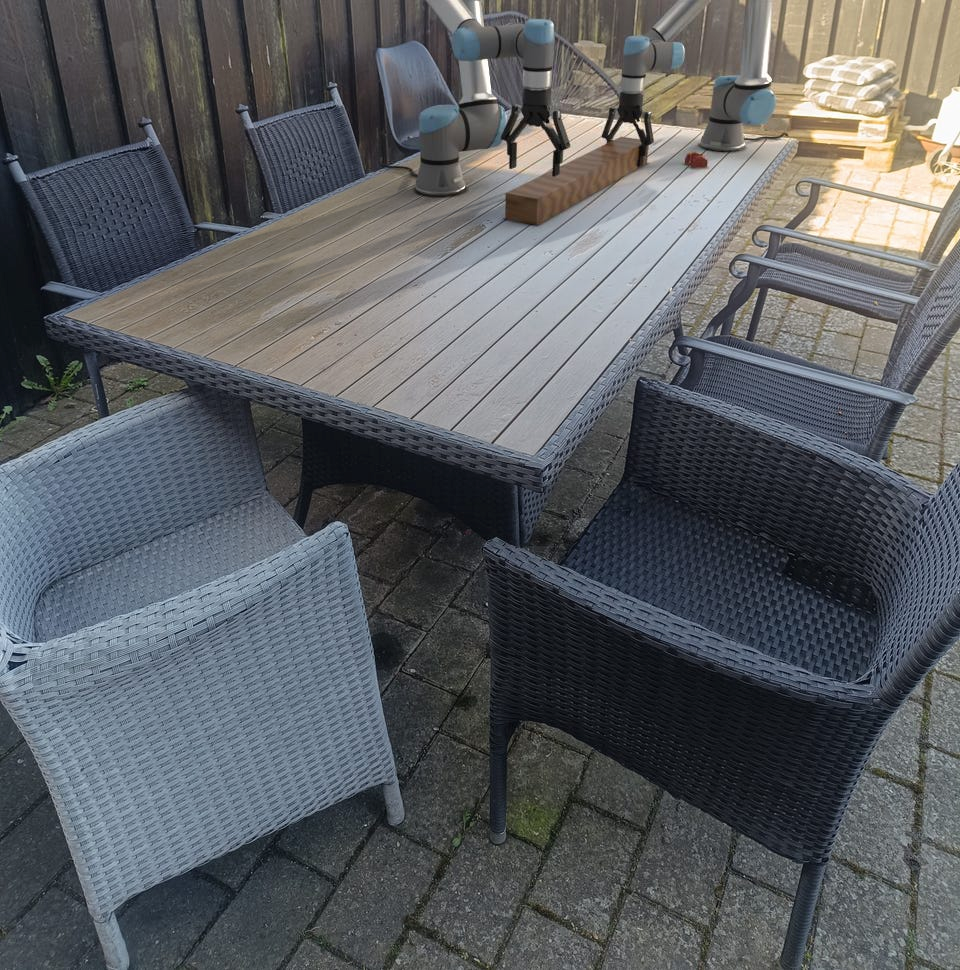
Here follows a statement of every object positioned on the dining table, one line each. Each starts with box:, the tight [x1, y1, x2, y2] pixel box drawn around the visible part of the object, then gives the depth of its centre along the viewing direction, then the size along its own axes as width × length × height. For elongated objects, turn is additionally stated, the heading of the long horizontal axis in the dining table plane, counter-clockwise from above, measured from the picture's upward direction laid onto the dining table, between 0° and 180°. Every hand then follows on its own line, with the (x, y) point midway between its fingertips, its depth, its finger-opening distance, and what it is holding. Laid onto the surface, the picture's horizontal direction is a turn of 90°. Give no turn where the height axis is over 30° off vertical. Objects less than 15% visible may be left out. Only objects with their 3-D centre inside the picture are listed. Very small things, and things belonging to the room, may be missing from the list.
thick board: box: [504, 136, 650, 226], centre depth 257 cm, size 75×10×7 cm, turn 147°
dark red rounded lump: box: [683, 151, 709, 169], centre depth 279 cm, size 6×4×8 cm
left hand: (533, 171), depth 231 cm, fingers open, 13 cm apart
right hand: (624, 163), depth 280 cm, fingers closed on thick board, 10 cm apart
